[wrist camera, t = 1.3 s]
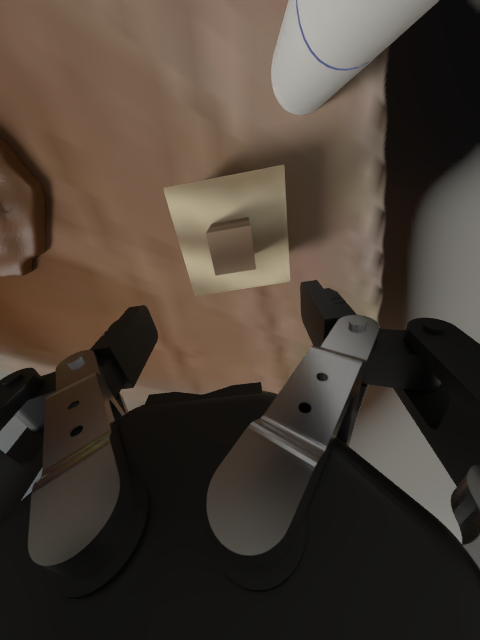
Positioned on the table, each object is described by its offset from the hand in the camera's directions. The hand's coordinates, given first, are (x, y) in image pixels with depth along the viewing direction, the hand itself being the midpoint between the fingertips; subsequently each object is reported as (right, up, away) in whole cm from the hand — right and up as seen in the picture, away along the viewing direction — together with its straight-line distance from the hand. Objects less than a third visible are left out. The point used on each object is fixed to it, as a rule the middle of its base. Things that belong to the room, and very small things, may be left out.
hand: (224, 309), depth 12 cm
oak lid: (0, +9, +14) cm, 17 cm away
